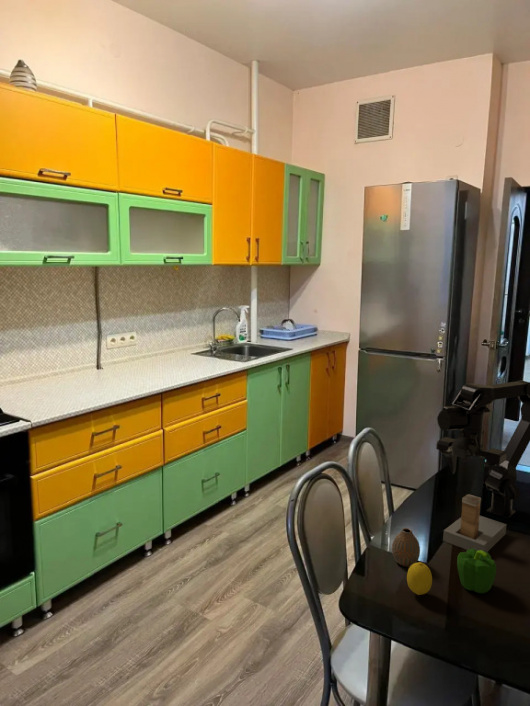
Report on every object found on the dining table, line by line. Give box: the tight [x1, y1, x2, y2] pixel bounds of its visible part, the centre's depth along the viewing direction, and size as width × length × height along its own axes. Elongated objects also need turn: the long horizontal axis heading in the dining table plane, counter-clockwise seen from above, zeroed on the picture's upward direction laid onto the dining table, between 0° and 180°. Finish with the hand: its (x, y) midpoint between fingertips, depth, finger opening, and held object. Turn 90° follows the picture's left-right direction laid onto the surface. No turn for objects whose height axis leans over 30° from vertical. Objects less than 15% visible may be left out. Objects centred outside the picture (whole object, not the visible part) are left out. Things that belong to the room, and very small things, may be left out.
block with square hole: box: [442, 515, 507, 553], centre depth 145 cm, size 16×11×3 cm
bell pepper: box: [456, 548, 497, 594], centre depth 121 cm, size 8×8×10 cm
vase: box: [391, 527, 421, 568], centre depth 132 cm, size 7×7×9 cm
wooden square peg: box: [460, 493, 482, 540], centre depth 141 cm, size 4×4×13 cm
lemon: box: [406, 561, 433, 596], centre depth 118 cm, size 6×6×8 cm
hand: (468, 477), depth 154 cm, fingers open, 9 cm apart
